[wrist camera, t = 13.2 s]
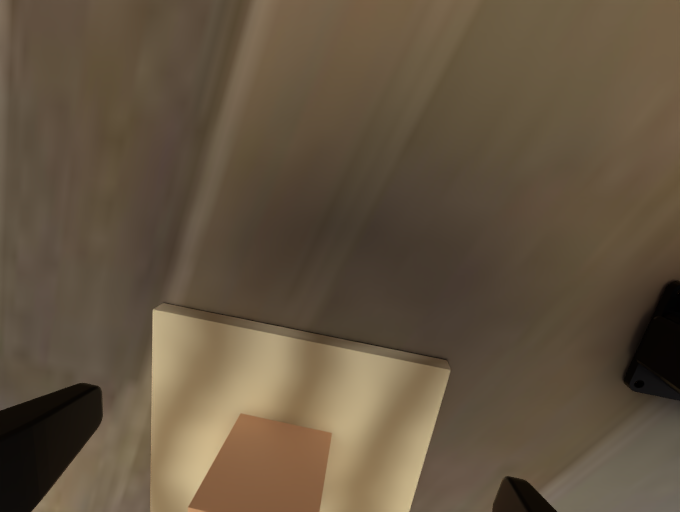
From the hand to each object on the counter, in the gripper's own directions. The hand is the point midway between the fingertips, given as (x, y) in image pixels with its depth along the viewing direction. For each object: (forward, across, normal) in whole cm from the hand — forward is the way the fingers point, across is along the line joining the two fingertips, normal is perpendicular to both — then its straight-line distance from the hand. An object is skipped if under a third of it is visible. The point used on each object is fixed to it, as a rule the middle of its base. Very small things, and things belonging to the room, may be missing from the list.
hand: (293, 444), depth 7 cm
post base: (+12, +2, +13) cm, 18 cm away
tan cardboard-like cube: (+11, +2, +13) cm, 17 cm away
